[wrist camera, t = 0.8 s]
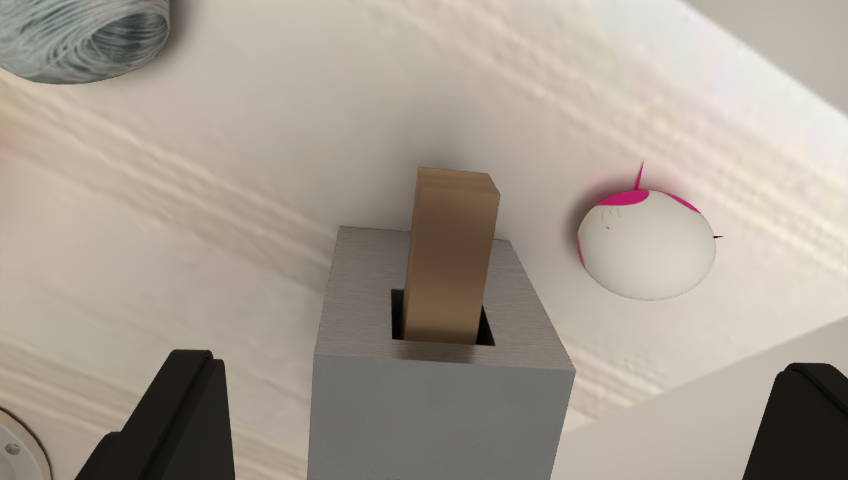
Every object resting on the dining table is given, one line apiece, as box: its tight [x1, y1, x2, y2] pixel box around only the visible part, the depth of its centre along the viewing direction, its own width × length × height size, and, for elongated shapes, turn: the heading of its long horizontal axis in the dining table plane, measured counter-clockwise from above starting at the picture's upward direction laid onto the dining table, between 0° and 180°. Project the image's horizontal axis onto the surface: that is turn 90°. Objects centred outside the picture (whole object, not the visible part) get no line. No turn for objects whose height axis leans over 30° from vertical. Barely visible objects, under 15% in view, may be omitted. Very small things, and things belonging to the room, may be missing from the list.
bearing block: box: [307, 226, 576, 480], centre depth 30 cm, size 8×10×14 cm
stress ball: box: [577, 162, 723, 301], centre depth 34 cm, size 8×8×7 cm
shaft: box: [399, 167, 500, 345], centre depth 28 cm, size 19×3×3 cm, turn 174°
